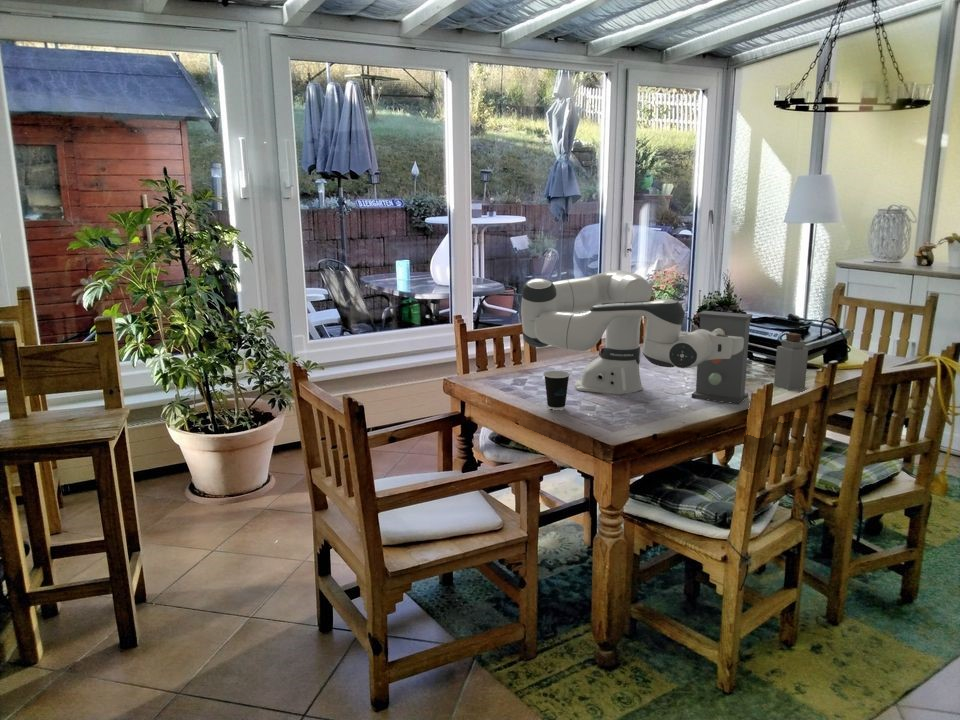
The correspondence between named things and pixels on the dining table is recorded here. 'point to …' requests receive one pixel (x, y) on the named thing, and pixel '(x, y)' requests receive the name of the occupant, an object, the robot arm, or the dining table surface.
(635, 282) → the robot arm
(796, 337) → the perfume bottle
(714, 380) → the button bottom
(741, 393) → the button column
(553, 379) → the dixie cup
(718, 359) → the button middle
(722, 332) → the button top
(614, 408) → the dining table surface
